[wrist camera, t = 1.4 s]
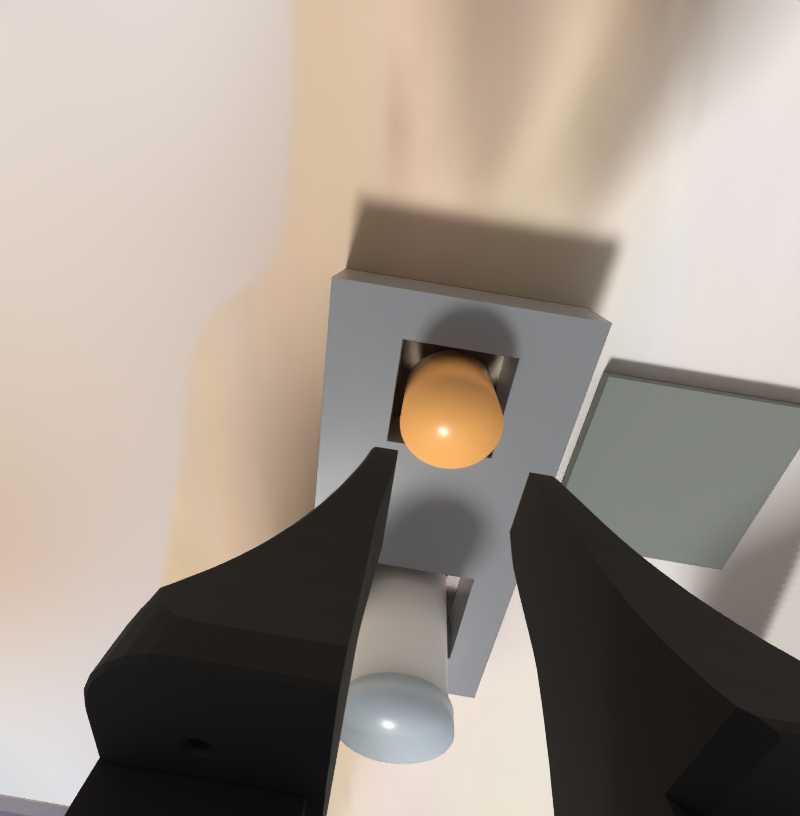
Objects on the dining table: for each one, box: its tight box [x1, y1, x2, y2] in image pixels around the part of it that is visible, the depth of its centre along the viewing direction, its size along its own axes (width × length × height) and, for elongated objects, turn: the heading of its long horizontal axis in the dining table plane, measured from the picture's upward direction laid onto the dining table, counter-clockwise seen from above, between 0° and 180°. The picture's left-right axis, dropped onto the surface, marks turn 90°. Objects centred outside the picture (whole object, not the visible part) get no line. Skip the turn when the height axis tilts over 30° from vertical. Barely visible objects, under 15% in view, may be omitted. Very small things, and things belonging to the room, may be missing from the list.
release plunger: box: [400, 350, 503, 469], centre depth 16 cm, size 4×4×3 cm
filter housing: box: [315, 269, 612, 698], centre depth 21 cm, size 10×22×2 cm, turn 172°
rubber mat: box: [562, 372, 800, 570], centre depth 20 cm, size 9×9×1 cm
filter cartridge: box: [340, 563, 454, 764], centre depth 20 cm, size 5×5×8 cm
